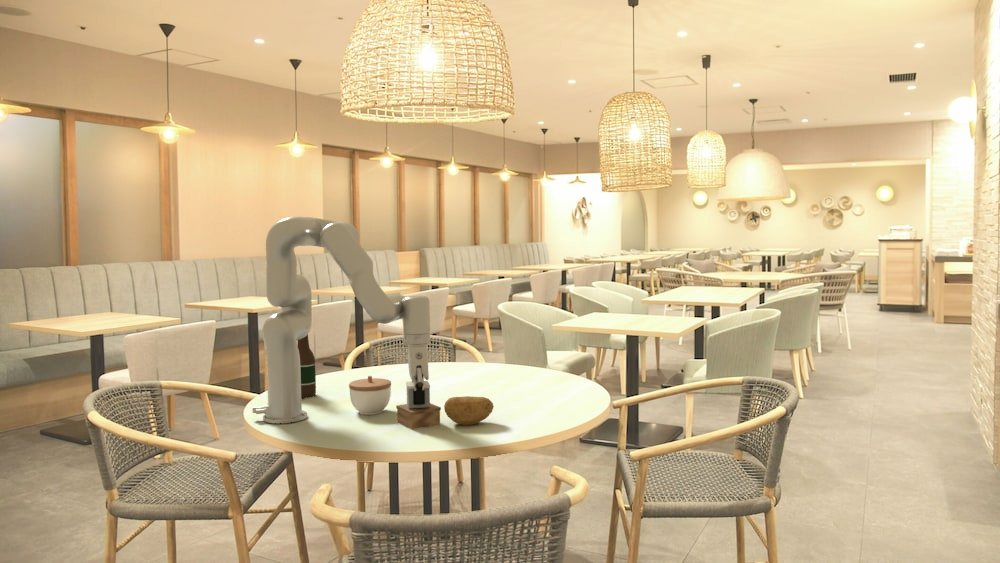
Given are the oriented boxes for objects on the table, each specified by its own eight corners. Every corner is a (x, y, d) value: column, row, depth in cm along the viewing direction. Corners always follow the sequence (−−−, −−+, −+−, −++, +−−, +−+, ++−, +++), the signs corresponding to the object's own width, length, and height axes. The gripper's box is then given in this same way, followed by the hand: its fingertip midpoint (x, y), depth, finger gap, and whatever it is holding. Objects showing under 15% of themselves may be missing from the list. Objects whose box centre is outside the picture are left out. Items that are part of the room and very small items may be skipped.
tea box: (411, 430, 204) (410, 412, 203) (396, 423, 212) (396, 405, 211) (441, 425, 209) (440, 407, 209) (425, 418, 217) (425, 401, 216)
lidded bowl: (400, 411, 224) (399, 375, 223) (365, 419, 215) (364, 382, 214) (375, 404, 233) (374, 370, 232) (341, 412, 224) (340, 376, 223)
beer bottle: (299, 393, 251) (297, 323, 249) (320, 393, 249) (318, 323, 248) (288, 398, 243) (286, 326, 242) (310, 399, 242) (308, 326, 240)
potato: (496, 427, 205) (495, 399, 205) (445, 429, 203) (445, 401, 203) (491, 418, 215) (490, 391, 214) (443, 420, 213) (442, 393, 212)
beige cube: (408, 408, 206) (407, 386, 206) (406, 403, 212) (406, 381, 212) (430, 407, 207) (429, 385, 207) (427, 402, 214) (427, 380, 213)
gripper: (433, 343, 201) (434, 408, 202) (426, 334, 218) (427, 394, 219) (406, 344, 199) (407, 409, 201) (401, 335, 216) (402, 395, 217)
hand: (418, 401), depth 210 cm, fingers closed on beige cube, 5 cm apart
